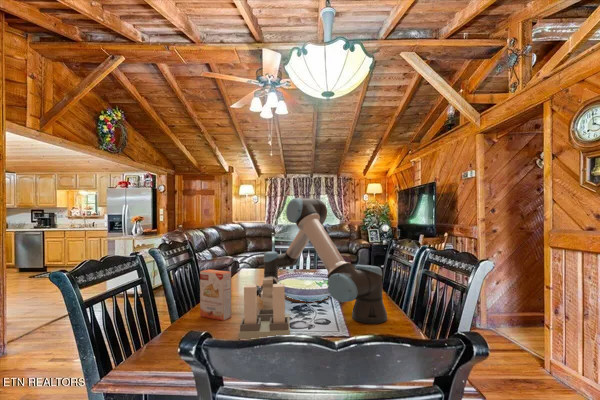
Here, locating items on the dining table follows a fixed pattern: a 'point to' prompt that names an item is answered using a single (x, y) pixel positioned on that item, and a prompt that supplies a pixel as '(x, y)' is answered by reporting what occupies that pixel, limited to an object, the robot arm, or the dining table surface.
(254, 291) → the stool seat
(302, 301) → the trivet
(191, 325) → the dining table surface
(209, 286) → the cracker box
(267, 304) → the loose stool leg
